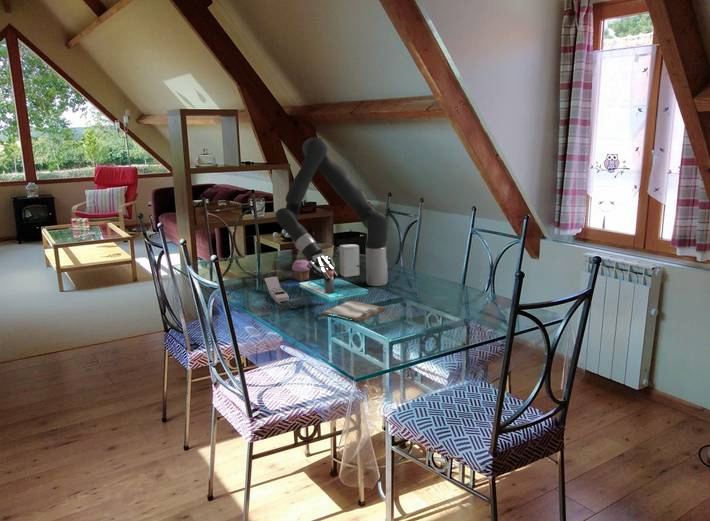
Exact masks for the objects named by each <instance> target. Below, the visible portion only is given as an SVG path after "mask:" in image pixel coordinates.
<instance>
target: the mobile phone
mask: <svg viewBox="0 0 710 521" xmlns="http://www.w3.org/2000/svg"><path fill="white" fill-rule="evenodd" d="M264 281H265V283H266V286H267V289H268V294H269V296H270V297H271V298H272V299H273V300H274V302H275V303H277V304H278V305H281V303H282V302H287V301H289V300H290V297H289V294H288V293H287V292H286V290H284V289H283V288H282V287H281V284H280V282H279V277H278V276H270V277H264Z"/></svg>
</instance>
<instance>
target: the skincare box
mask: <svg viewBox="0 0 710 521" xmlns="http://www.w3.org/2000/svg"><path fill="white" fill-rule="evenodd" d="M339 274H340V276H342V277H343V278H349V277H354V276H355V277H356V276H360V245H358V244H354V243H351V244H340V245H339Z"/></svg>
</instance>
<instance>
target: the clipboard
mask: <svg viewBox="0 0 710 521" xmlns="http://www.w3.org/2000/svg"><path fill="white" fill-rule="evenodd" d="M386 310H387V307H386V306H380V305H375V304H369V303H364V302H360V301H355V300H349V301H346V302H344V303H343V302H342V303H341V304H339V305H336V306H334V307H332V308H329V309H327V310H324V311H323V312H321V313H322V314H321V315H323V314H324V316H328V314H332V315H333V314H337V315H338V316H341V317H345V318H348V319H352V320H356V321H359V322H358V323H361V322H364V321H366V320H367V319H370V318H371V317H373V316H376V315H378V314H380V313H382V312H384V311H386ZM360 321H361V322H360Z"/></svg>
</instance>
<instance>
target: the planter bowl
mask: <svg viewBox="0 0 710 521" xmlns="http://www.w3.org/2000/svg"><path fill="white" fill-rule="evenodd" d="M317 244H318V245H319V247H320V248H321V249H322V254H323V255H325V256H327V257H328V256H329V255H330V256H331V257H332V258H333V256H334V247H335V245H333V244H331V243H317ZM304 260H306V258H305V257H304ZM308 262H310V261H308ZM326 265H327V264H326ZM326 265H325V266H326Z"/></svg>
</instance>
